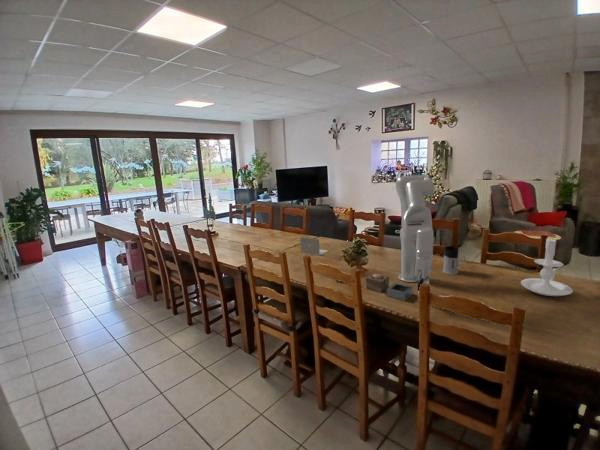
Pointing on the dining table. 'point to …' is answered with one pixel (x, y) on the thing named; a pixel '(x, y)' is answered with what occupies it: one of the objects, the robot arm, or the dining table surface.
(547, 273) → the candlestick
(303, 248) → the laptop
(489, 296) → the dining table surface
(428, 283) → the filter cartridge
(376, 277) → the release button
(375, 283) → the grey square box
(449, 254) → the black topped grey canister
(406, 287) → the cartridge housing
